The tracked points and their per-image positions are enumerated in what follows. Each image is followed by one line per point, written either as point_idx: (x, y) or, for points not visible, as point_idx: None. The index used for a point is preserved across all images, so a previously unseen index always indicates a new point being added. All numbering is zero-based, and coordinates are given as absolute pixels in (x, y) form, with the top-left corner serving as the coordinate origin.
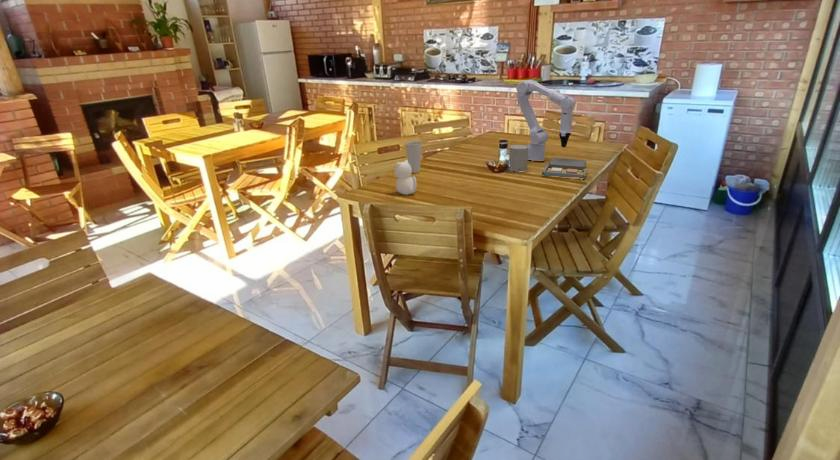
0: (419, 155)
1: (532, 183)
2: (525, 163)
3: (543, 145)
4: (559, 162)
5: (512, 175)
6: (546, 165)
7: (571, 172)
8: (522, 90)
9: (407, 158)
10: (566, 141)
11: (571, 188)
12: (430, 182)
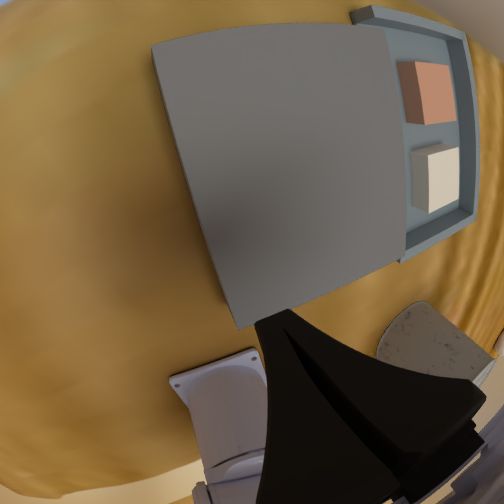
0: None
1: (497, 204)
2: (444, 321)
3: (264, 450)
4: (355, 220)
5: (454, 298)
6: (409, 258)
7: (449, 92)
8: None
9: None
10: (356, 357)
11: (499, 79)
12: None
